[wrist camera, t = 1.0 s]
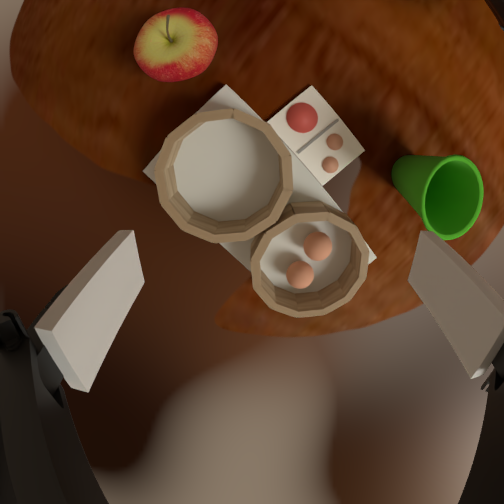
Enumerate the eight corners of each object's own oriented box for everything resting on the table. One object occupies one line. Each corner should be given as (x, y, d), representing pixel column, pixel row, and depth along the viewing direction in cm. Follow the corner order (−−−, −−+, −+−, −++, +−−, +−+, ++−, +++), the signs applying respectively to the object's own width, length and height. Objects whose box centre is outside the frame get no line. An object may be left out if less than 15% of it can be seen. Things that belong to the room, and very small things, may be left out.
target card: (265, 122, 30) (266, 123, 29) (311, 85, 27) (312, 85, 27) (321, 185, 33) (322, 186, 32) (363, 150, 31) (365, 150, 30)
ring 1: (194, 93, 27) (185, 89, 23) (309, 143, 30) (316, 147, 26) (151, 202, 33) (140, 212, 29) (255, 245, 35) (256, 260, 32)
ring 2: (283, 181, 32) (286, 190, 28) (376, 231, 34) (389, 244, 31) (234, 276, 38) (232, 294, 34) (322, 310, 40) (328, 328, 37)
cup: (378, 210, 34) (418, 247, 24) (374, 141, 30) (421, 156, 20) (432, 202, 33) (479, 234, 24) (431, 139, 29) (485, 154, 20)
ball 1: (292, 251, 36) (296, 265, 33) (316, 262, 36) (321, 276, 33) (280, 273, 37) (282, 288, 34) (303, 282, 38) (306, 297, 35)
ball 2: (309, 222, 34) (315, 234, 31) (333, 234, 35) (340, 246, 32) (296, 246, 35) (300, 259, 32) (319, 256, 36) (325, 270, 33)
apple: (233, 33, 25) (225, 2, 16) (204, 95, 28) (183, 86, 19) (170, 17, 23) (140, -13, 14) (142, 77, 27) (102, 67, 18)
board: (146, 169, 32) (142, 171, 31) (227, 85, 28) (226, 84, 27) (297, 310, 42) (298, 315, 41) (373, 253, 37) (376, 257, 36)
